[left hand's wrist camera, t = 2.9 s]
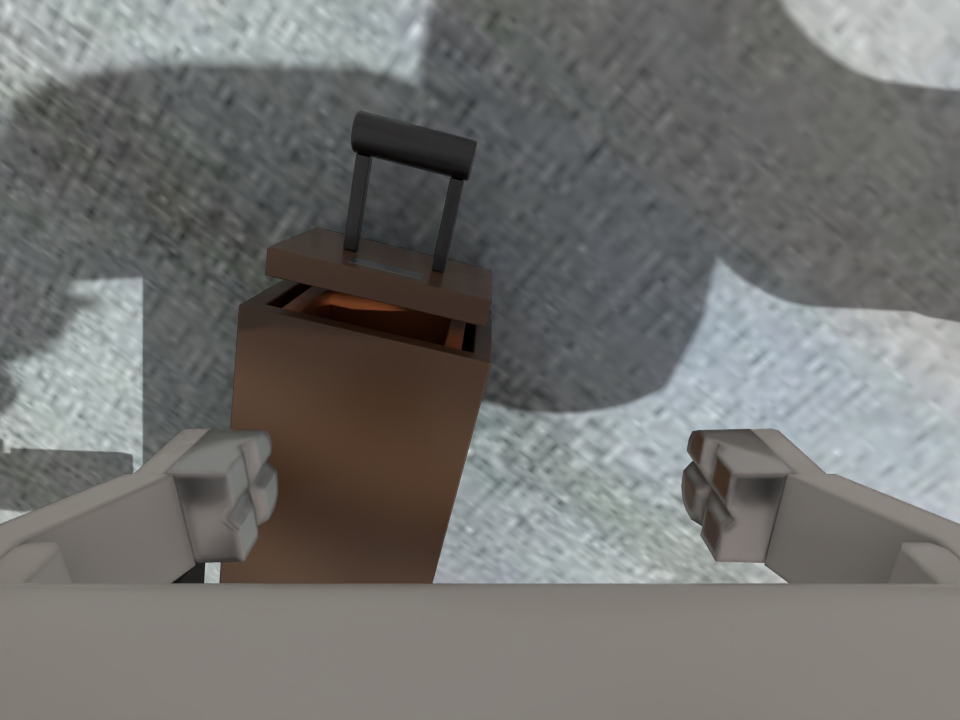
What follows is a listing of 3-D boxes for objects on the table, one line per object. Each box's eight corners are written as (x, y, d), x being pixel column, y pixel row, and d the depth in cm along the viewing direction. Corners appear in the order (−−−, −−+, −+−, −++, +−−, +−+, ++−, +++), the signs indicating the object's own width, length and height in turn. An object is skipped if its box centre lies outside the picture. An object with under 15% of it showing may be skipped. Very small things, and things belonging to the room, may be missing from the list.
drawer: (331, 104, 25) (280, 88, 19) (520, 154, 26) (529, 153, 20) (284, 497, 33) (238, 571, 27) (427, 527, 34) (413, 605, 28)
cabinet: (305, 265, 29) (238, 304, 21) (491, 309, 29) (491, 363, 22) (275, 528, 35) (215, 631, 28) (427, 559, 36) (409, 668, 28)
